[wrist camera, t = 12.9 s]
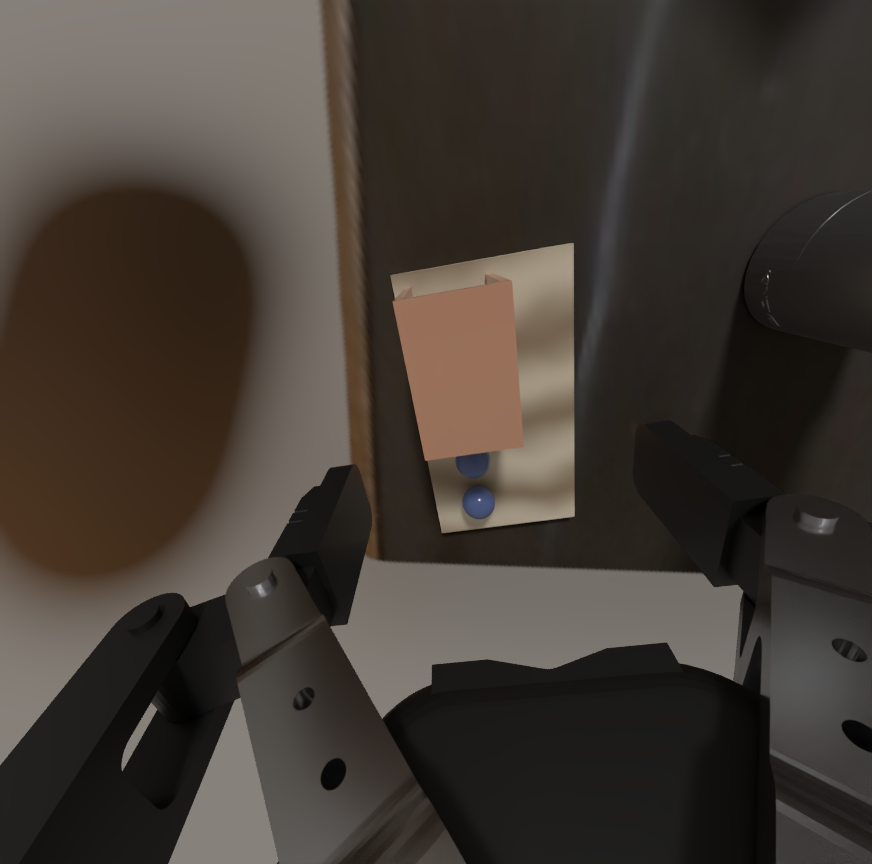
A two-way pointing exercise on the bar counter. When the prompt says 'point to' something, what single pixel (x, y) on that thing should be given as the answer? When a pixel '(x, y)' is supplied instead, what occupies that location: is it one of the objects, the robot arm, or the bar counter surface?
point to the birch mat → (539, 390)
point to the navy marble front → (473, 464)
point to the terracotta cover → (463, 368)
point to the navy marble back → (478, 502)
